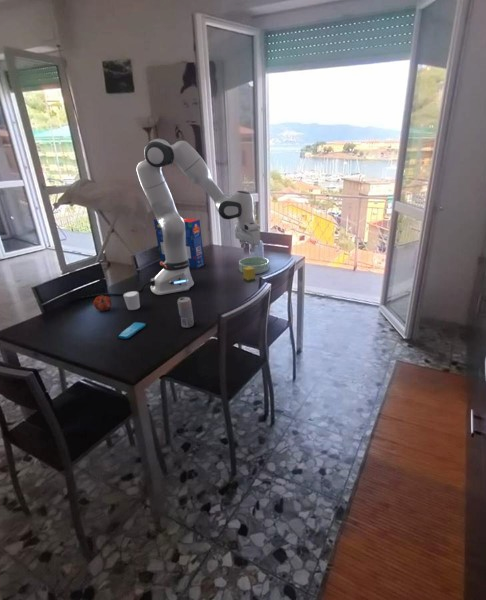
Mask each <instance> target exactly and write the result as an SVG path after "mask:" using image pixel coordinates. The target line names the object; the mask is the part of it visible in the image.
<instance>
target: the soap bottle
mask: <svg viewBox="0 0 486 600" xmlns="http://www.w3.org/2000/svg"><path fill="white" fill-rule="evenodd" d="M255 221H256V222H257V223H258V222H259V220H258V219H256V220H255ZM264 246H265V245H264V242H263V240H261V239H260V243H259V245H256V246H255V248H254V252H250V248H251V244H249V243H248V247H249V257H263V258H265V247H264Z"/></svg>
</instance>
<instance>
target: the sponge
mask: <svg viewBox="0 0 486 600" xmlns="http://www.w3.org/2000/svg"><path fill="white" fill-rule="evenodd" d="M145 327H146V323H144V322H133V323H132V324H131V325H130V326H128V327H127V328H126V329H124V330H123V331H122V332H120V334H119V335H118V338H119V339H126V340H127V339H129V338H131V337H132V336H134V335H135V334H136V333H137V332H139V331H140V330H142V329H144V328H145Z"/></svg>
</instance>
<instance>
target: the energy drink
mask: <svg viewBox="0 0 486 600" xmlns="http://www.w3.org/2000/svg"><path fill="white" fill-rule="evenodd" d="M177 308H178V314H179V321H180V326H181V328H184V329H188V328H191V327H193V326H194V325H195V320H194V313H193V306H192V300H191V298H190V296H181V297H179V298H178V299H177Z"/></svg>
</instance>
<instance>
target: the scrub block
mask: <svg viewBox="0 0 486 600" xmlns="http://www.w3.org/2000/svg"><path fill="white" fill-rule="evenodd" d="M242 274H243V275H242V276H243V281H245V282H247V283H251V282H254V281H256V274H255V271H254V268H253V267H251V266H249V267H245V268H243V273H242Z"/></svg>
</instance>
